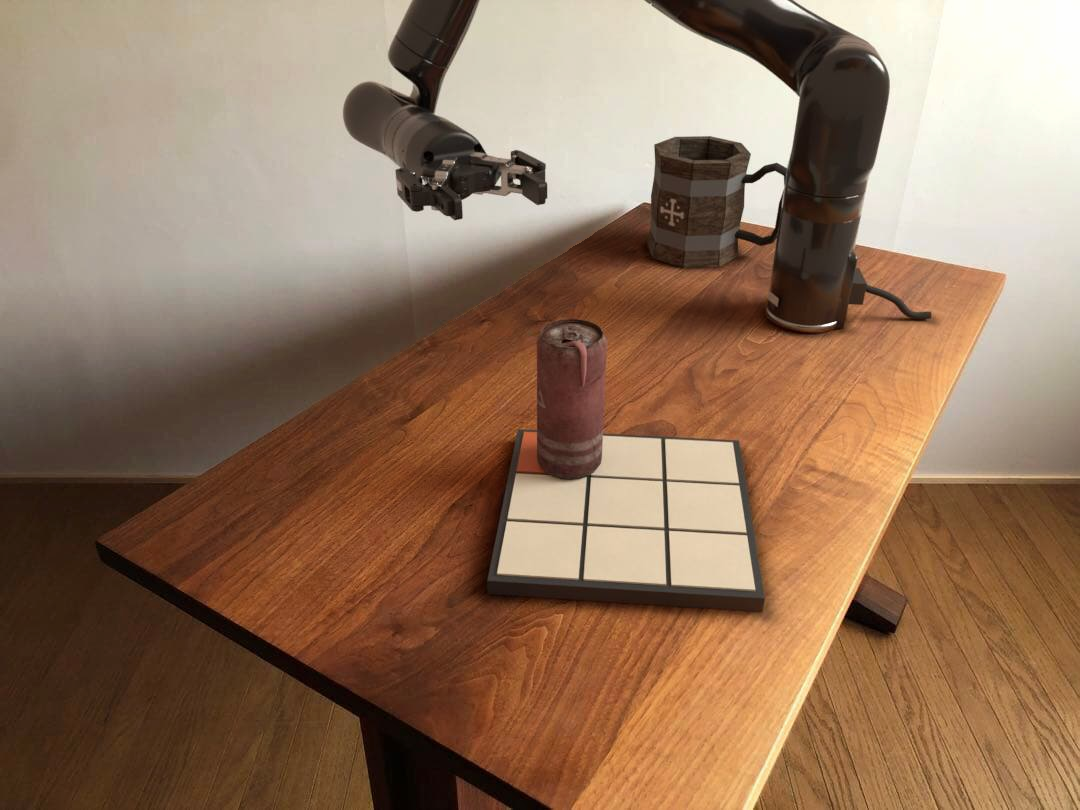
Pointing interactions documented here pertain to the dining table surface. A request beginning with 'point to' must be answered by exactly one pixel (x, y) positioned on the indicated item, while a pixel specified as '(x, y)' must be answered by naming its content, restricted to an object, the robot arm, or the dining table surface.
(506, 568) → the board
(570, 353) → the can
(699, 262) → the mug
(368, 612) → the dining table surface
